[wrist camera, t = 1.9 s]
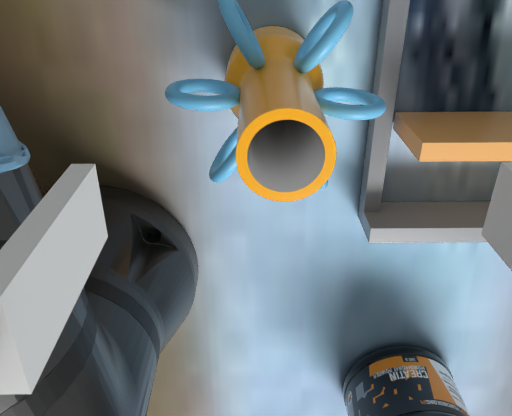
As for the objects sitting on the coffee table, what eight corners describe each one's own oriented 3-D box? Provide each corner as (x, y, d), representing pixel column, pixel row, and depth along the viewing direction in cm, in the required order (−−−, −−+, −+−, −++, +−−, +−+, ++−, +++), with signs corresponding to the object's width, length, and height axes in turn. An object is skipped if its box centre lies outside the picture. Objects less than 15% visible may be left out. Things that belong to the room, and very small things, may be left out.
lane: (357, 215, 37) (378, 267, 31) (387, -38, 29) (424, -35, 23) (545, 214, 37) (603, 265, 31) (631, -39, 29) (734, -35, 23)
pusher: (392, 128, 34) (419, 161, 28) (395, 112, 33) (422, 142, 28) (554, 127, 34) (610, 160, 28) (559, 111, 33) (618, 141, 28)
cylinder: (375, -7, 30) (474, 28, 16) (348, 148, 35) (408, 269, 21) (180, -21, 29) (122, 3, 16) (182, 138, 34) (138, 256, 21)
